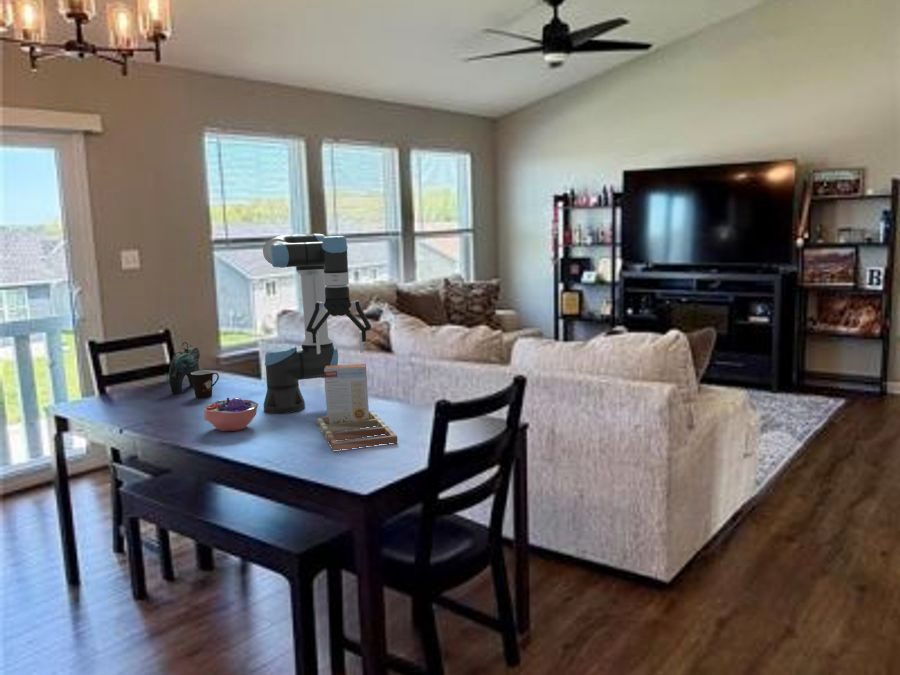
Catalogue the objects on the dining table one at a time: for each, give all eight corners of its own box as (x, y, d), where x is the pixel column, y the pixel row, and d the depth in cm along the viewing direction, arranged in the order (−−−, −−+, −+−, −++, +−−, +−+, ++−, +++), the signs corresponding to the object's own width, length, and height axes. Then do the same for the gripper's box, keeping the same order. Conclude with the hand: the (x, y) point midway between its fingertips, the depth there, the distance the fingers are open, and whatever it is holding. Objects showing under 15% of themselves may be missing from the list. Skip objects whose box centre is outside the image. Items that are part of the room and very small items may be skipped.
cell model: (236, 418, 266) (234, 388, 264) (269, 428, 253) (267, 396, 251) (193, 429, 253) (191, 397, 251) (226, 440, 240) (223, 406, 238)
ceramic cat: (192, 383, 327) (188, 339, 323) (206, 383, 325) (202, 339, 322) (167, 394, 307) (162, 347, 304) (181, 394, 306) (177, 347, 303)
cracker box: (369, 422, 256) (366, 363, 253) (368, 426, 250) (365, 366, 247) (328, 423, 255) (325, 364, 252) (327, 428, 249) (323, 368, 246)
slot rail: (316, 424, 255) (316, 417, 255) (373, 417, 261) (373, 410, 261) (333, 452, 224) (333, 444, 224) (397, 443, 231) (397, 436, 230)
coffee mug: (195, 400, 295) (193, 375, 294) (190, 396, 303) (188, 372, 301) (224, 395, 301) (222, 372, 300) (219, 391, 309) (217, 368, 307)
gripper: (294, 288, 227) (298, 356, 230) (376, 286, 227) (378, 353, 231) (298, 285, 234) (302, 351, 238) (377, 283, 235) (380, 349, 239)
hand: (340, 352), depth 234 cm, fingers open, 13 cm apart
